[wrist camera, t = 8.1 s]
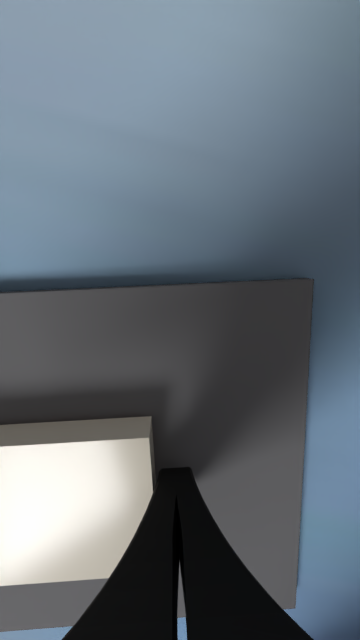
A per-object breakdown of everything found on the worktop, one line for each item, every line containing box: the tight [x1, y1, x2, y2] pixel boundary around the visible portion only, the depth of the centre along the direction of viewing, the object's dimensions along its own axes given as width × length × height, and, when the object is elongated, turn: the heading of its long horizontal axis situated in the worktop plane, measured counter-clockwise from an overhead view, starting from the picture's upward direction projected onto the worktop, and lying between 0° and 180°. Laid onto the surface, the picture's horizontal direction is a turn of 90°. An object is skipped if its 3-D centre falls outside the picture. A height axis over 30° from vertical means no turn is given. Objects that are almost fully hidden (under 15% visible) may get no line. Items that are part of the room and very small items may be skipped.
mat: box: [0, 278, 314, 632], centre depth 13 cm, size 16×16×1 cm
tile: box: [0, 416, 156, 586], centre depth 11 cm, size 6×2×7 cm
